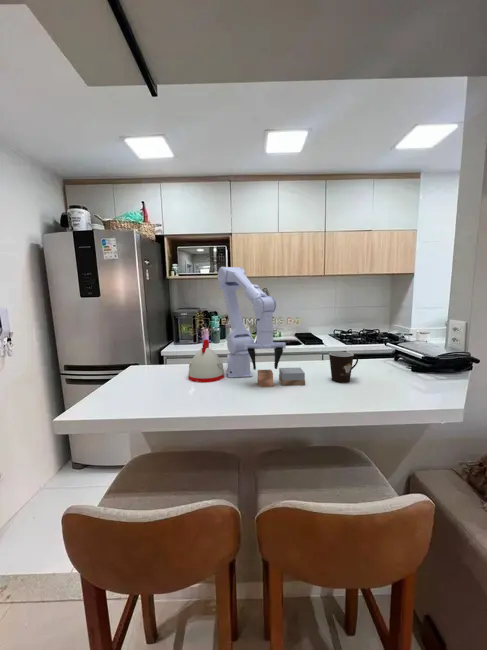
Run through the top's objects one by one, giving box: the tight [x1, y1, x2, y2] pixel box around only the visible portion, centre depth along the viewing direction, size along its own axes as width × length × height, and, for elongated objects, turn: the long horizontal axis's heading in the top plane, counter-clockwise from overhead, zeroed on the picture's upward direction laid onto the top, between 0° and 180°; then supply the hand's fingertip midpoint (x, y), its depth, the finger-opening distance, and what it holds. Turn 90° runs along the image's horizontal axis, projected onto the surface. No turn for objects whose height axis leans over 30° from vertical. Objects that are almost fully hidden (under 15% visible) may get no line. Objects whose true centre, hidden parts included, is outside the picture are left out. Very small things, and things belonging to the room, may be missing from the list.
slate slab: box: [278, 367, 306, 381], centre depth 112 cm, size 8×8×2 cm
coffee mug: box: [328, 351, 359, 384], centre depth 113 cm, size 12×9×10 cm
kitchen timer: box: [187, 339, 225, 383], centre depth 120 cm, size 14×14×15 cm
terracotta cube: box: [257, 369, 274, 388], centre depth 110 cm, size 5×5×5 cm
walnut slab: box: [278, 374, 306, 387], centre depth 113 cm, size 8×8×2 cm
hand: (265, 368), depth 110 cm, fingers open, 7 cm apart
